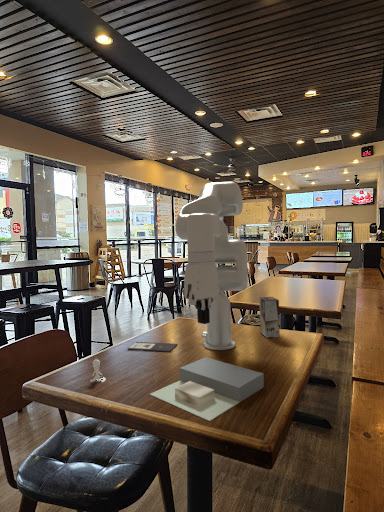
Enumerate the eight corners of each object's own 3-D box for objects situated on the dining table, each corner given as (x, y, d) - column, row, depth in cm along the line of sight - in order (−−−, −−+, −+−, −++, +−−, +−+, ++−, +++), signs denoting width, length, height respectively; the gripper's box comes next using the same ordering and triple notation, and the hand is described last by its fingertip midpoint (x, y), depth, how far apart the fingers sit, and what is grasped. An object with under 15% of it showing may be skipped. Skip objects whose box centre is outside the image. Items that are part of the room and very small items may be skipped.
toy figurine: (108, 376, 110) (107, 354, 110) (99, 387, 102) (98, 363, 102) (92, 376, 111) (91, 354, 110) (82, 387, 103) (80, 363, 102)
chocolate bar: (170, 351, 132) (127, 348, 136) (171, 353, 132) (127, 351, 136) (177, 343, 141) (136, 342, 145) (177, 346, 141) (136, 344, 145)
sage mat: (149, 394, 96) (149, 393, 96) (180, 380, 105) (180, 380, 105) (209, 421, 81) (209, 420, 81) (239, 402, 90) (239, 401, 90)
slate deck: (180, 380, 105) (179, 367, 105) (206, 369, 114) (205, 357, 114) (239, 402, 90) (238, 387, 90) (263, 387, 99) (263, 373, 98)
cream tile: (190, 380, 98) (190, 389, 98) (174, 388, 94) (175, 397, 94) (214, 389, 92) (214, 398, 92) (199, 397, 88) (199, 407, 88)
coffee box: (280, 337, 146) (279, 300, 145) (265, 338, 146) (264, 300, 145) (273, 331, 155) (272, 296, 155) (259, 332, 155) (258, 297, 154)
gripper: (208, 255, 104) (210, 315, 105) (172, 259, 93) (175, 326, 94) (228, 256, 99) (230, 319, 100) (192, 260, 88) (195, 331, 89)
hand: (203, 322), depth 97 cm, fingers closed
